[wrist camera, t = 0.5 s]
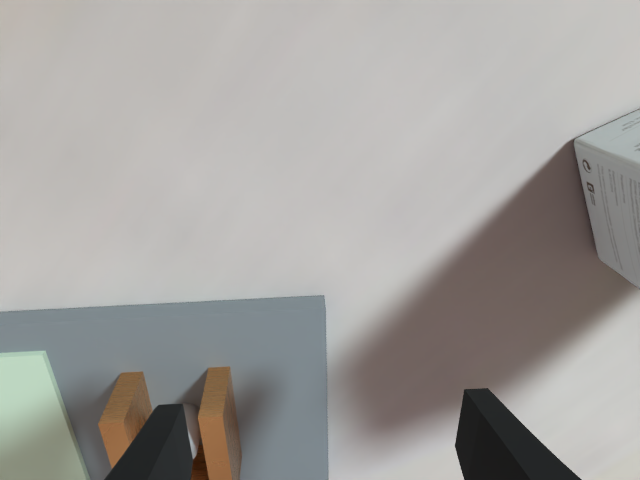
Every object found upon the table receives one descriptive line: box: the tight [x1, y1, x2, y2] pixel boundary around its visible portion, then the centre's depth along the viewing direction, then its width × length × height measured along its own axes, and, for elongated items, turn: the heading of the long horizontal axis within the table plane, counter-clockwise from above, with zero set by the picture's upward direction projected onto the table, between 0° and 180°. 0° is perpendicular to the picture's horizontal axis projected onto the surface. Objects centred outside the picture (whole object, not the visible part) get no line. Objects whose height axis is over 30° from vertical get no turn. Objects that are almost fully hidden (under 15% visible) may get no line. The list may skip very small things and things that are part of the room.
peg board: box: [0, 295, 328, 480], centre depth 23 cm, size 12×24×3 cm, turn 91°
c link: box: [98, 366, 242, 480], centre depth 22 cm, size 6×5×3 cm
